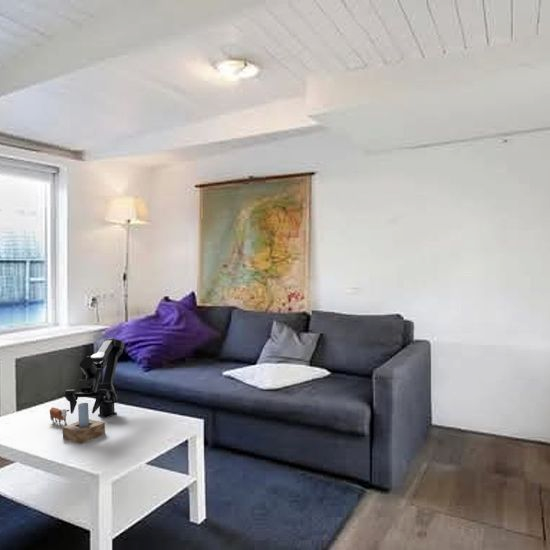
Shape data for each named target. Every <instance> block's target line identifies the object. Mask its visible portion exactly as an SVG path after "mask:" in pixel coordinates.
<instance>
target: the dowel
mask: <svg viewBox="0 0 550 550" xmlns="http://www.w3.org/2000/svg"><path fill="white" fill-rule="evenodd" d="M77 404H78V403H77ZM77 412H78V421H79V427H80V428H84V427H87V426H89V419H90V418H89V403H88V402H80V403H79V404H78V405H77Z"/></svg>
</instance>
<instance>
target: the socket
mask: <svg viewBox="0 0 550 550" xmlns="http://www.w3.org/2000/svg"><path fill="white" fill-rule="evenodd" d="M105 434H106V424H105V422H104V421H99V420H95V419H92V418H91V419H90V418H89V426H87V427H84V428H80V427H79V420H78V421H75V422H73V423H70V424H67V425H64V426H62V439H63V440H65V441H70V442H74V443H78V444H80V445H81V444H82V445H83V444H84V443H86V442H89V441H92V440H93V439H97V438H98V437H101V436H104V435H105Z"/></svg>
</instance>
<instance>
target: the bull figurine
mask: <svg viewBox="0 0 550 550" xmlns="http://www.w3.org/2000/svg"><path fill="white" fill-rule="evenodd" d="M69 411H70V409H66V408H58V407H54V406H53V407H50V409H49V415H50V416H49V418H50V420H51V421H52V425H55V424H56V423H58V426H59V427H60V426H62V424H61V422H62V421H64V426H67V425H68V422H67V420H66V419H67V412H69ZM51 421H50V422H51Z"/></svg>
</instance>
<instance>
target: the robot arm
mask: <svg viewBox="0 0 550 550" xmlns="http://www.w3.org/2000/svg"><path fill="white" fill-rule="evenodd" d="M123 350H125V343H124V342H123V341H122V340H119V339H116V338H115V337H109V338H108V337H107V338H104V340H103V343H102V345H101V346H100V348H99V349H98V351H97V352H95V353H93V354H92V355H90V356H89V355H87V356H85V357H86V358H84V359H82V360H81V361H80V362H79V367H80V369H81V371H82V372H83V374H84V375H85V379H78V380H77V385H76V387H77V388H79V392H77V391H76V389H66V390H65V391H64V393H63V396H64V398H65V399H66V401H68V402H69V408H70V409H69V411H70V414H71V415H72V414H73V413H74V412H75V408H76V407H77V404H78V398H95V401H94V404H93V407H92V409H91V413H92V414H95V413H96V411H97V410H98V409H99V410H98V411H99V414H97V416H98V417H102V418H109V417H112V416H115V415H117V414H118V412H115V404H116V403H118V395H117V393H116V390H115V387H114V385H113V384H114V379H115V374H116V368H117V365H118V364H117V363H118V359H119V358H120V356H121V355H123V352H124V351H123ZM100 369H101V370H103V369H105V370H104V374H103V379H102V380H103V381H102V382H101V383H99V380H100V378H101V377H102V373H101V370H100Z"/></svg>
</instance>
